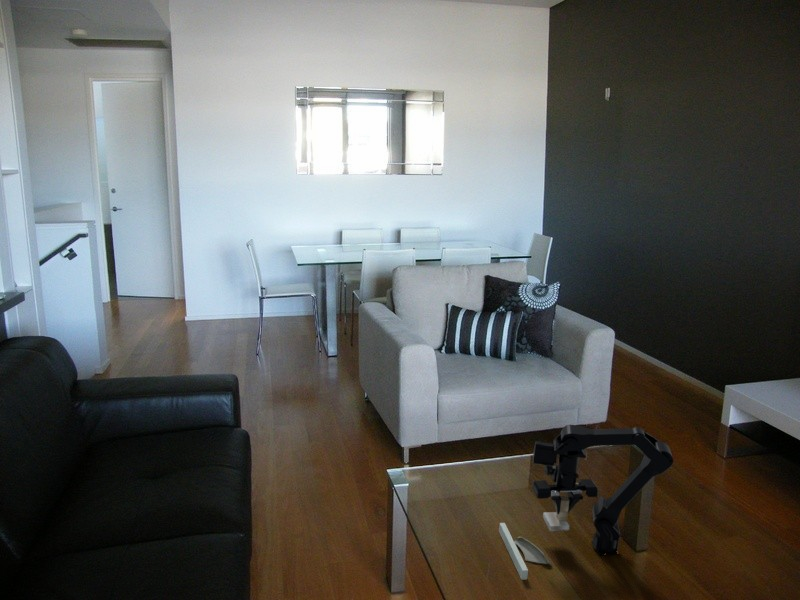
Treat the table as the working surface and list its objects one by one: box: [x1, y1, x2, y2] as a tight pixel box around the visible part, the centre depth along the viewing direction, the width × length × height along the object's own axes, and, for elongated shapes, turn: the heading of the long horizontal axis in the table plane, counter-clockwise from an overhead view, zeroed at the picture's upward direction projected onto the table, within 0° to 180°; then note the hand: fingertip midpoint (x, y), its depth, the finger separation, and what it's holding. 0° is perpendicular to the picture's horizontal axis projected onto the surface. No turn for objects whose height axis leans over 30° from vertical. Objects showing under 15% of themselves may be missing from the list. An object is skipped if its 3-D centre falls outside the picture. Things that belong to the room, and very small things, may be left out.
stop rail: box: [498, 522, 529, 581], centre depth 194 cm, size 2×22×3 cm, turn 9°
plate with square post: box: [542, 495, 570, 532], centre depth 198 cm, size 6×7×9 cm
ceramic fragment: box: [513, 536, 552, 567], centre depth 194 cm, size 14×5×4 cm, turn 36°
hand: (562, 513), depth 199 cm, fingers closed on plate with square post, 2 cm apart
